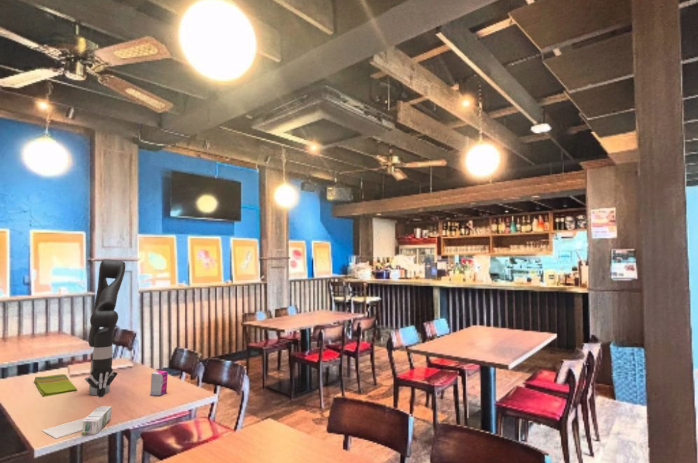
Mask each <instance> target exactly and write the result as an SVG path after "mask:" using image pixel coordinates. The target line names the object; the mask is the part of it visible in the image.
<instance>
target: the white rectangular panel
mask: <svg viewBox="0 0 698 463" xmlns="http://www.w3.org/2000/svg"><path fill="white" fill-rule="evenodd" d="M85 418H86V417H82V418H79V419H76V420H73V421H69V422H65V423H62V424H59V425H55V426H53V427H49V428H45V429H42V430H41V432H43V433H44V434H46V435H48V436H50V437H52V438H53V439H55V440H56V439H57V440H58V439H61V438H63V437H66V436H69V435H72V434H75V433H79V432H82V428H83V420H84V419H85Z"/></svg>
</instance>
